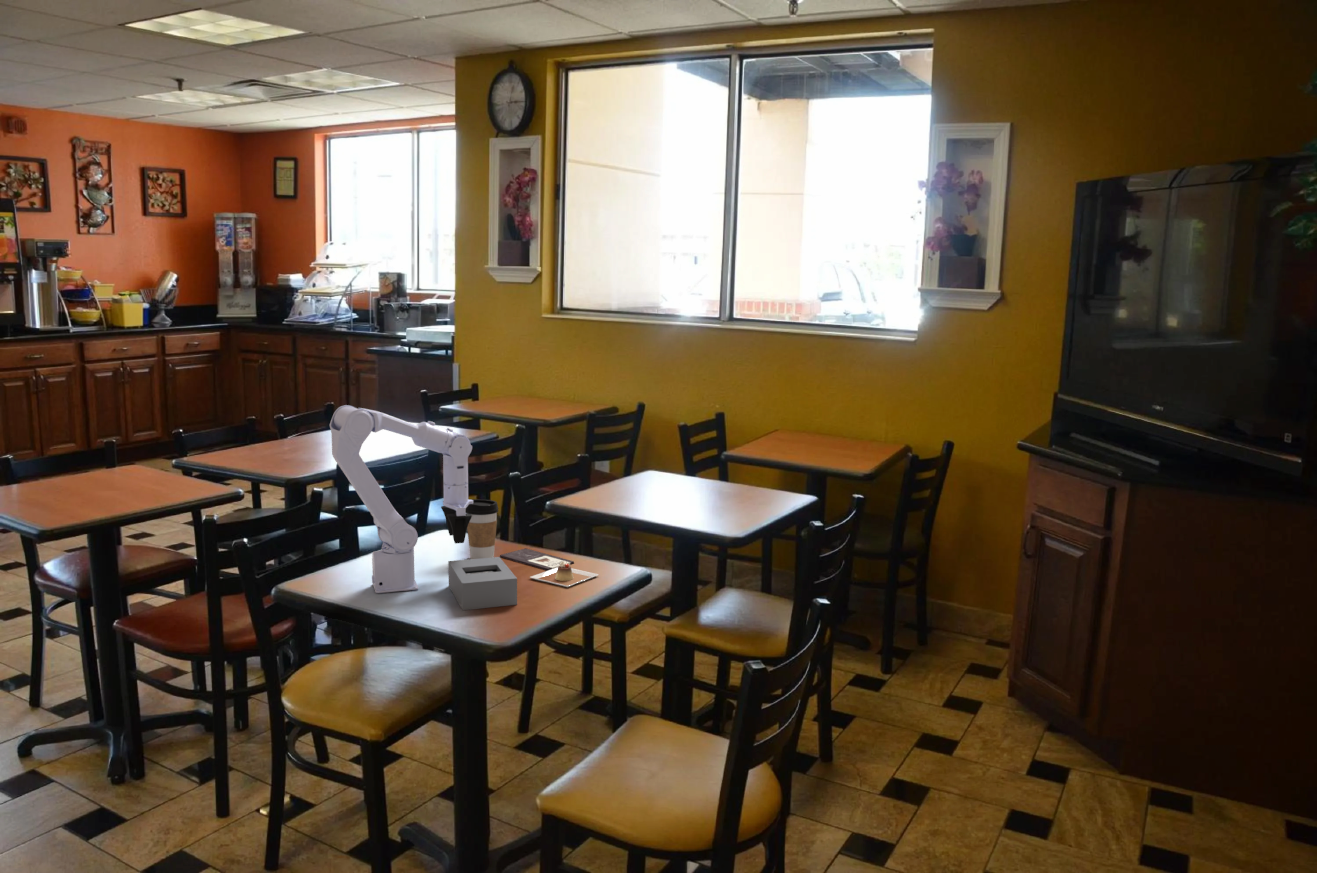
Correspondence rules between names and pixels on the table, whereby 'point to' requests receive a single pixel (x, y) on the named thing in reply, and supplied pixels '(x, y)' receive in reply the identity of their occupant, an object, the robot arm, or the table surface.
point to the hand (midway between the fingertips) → (456, 538)
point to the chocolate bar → (535, 559)
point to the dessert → (564, 574)
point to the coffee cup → (482, 528)
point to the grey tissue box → (482, 583)
